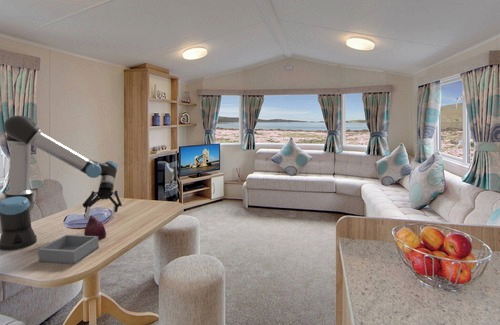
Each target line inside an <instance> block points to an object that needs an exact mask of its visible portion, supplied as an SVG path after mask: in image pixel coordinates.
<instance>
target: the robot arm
mask: <svg viewBox="0 0 500 325" xmlns="http://www.w3.org/2000/svg"><path fill="white" fill-rule="evenodd" d="M3 130H4V132H5V134H6V142H7V143H9V146H10V147H9V182H8V184H9V186H8V187H9V188H8V190H6V191H5V193H4V194H5V198H4V199H2V200H1V201H0V226H1V227H0V228H1V229H0V230H1V234H0V251H16V250H20V249H21V250H22V249H24V248H27V247H29V246H33V245H34V244H36V243H37V241H38V239H37V235H36V234H35V231H34V230H33V227H32V222H31V212H32V209H33V208H34V205H35V202H34V201H35V200H34V191H33V190H31V158H32V157H31V154H32V146H33V147H35V148H37V149H40V150H41V151H42V152H45V153H46V154H49V155H50V156H52V157H54V158H55V159H57V160H59V161H61V162H63V163H65V164H66V165H68V166H70V167H72V168H74V169H76V170H77V171H80V172H82V173H83V174H85V175H87V177H89V178H91V179H92V178H98V177H100V176H101V177H100V181H99V185H98V191H93V190H92V191H91V193H90V195H89V197H87V198H86V200H85V201H84V202H83V203H82V206H83V208H85V209H84V213H85V215H84V218H85V219H86V220H89V218H90V212H91V207H93V205H95V204H96V203H97V202H99V201H100V200H110V201H111V202H112V204H113V207H112V213H111V218H112V219H115V218H116V217H115V216H116V213H118V210H119V207H122V206H123V204H122V202H121V200H120V197H119V192H118V190H115V191H114V188H115V187H114V186H115V182H116V175H117V171H118V165H117V163H116V162H115V161H112V160H107V161H105V162H104V163H103V162H99V161H95V160H92V159H90V158H89V159H88V158H87V157H85V156H83V155H82V154H81V153H78V152H77V151H75V150H73V149H71V148H70V147H68V146H66V145H64V144H63V143H61V142H60V141H57V140H56V139H55V138H52V137H51V136H49V135H47V134H45V133H43V131H42V128H39V127H37V126H36V123H35V121H34V120H33V119H32V118H30V117H28V116H26V115H25V116H24V115H12V116H10V117H8V118H7V119H5V121H4V123H3ZM112 196H114V197H115V198H116V200H115V199H114V198H113V197H112ZM116 201H117V202H116Z"/></svg>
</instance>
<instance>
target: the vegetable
mask: <svg viewBox="0 0 500 325" xmlns="http://www.w3.org/2000/svg"><path fill="white" fill-rule="evenodd" d="M83 236H98V242H100V241H102V240H104V239H106V237H107V231H106V228H105V226H104V224H103V223H102V222H101V221H100V220H98V218H96V217H95V216H93V215H90V214H89V217H88V221H87V222H86V226H85V228H84V235H83Z"/></svg>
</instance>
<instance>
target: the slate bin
mask: <svg viewBox="0 0 500 325" xmlns="http://www.w3.org/2000/svg"><path fill="white" fill-rule="evenodd" d="M99 242H100V241H98V236H84V235H82V234H81V235H80V234H65V235H62V236H61V237H59V238H56V239H55V240H53V241H52V242H49V243H47V244H46V245H44V246H42V247H39V248H38V250H37V253H38V261H39V263H48V264H60V265H73V266H74V265H77V264H78V263H79V262H81V261H82V260H83V259H85V258H86V257H88V256H90V255H91V254H92V253H94V252H95V251H97V250H98V249H99V248H100V246H99Z"/></svg>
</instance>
